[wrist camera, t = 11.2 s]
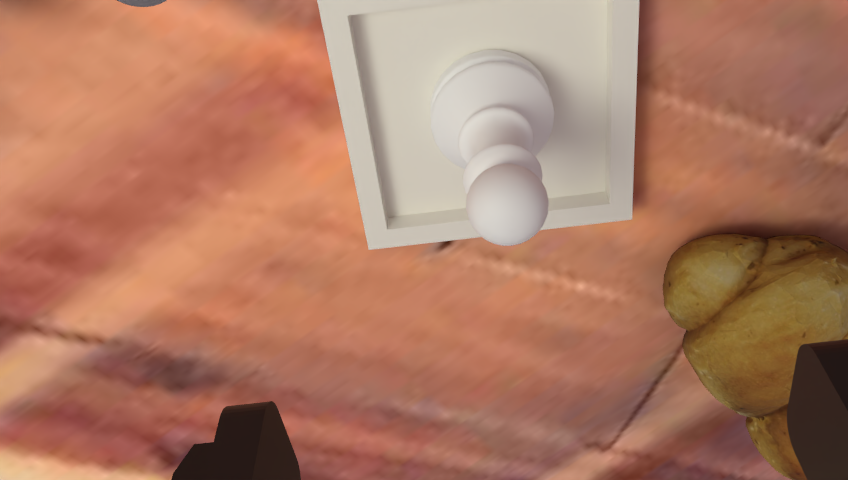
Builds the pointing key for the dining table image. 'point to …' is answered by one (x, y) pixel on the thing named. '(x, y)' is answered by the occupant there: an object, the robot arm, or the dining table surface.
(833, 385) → the robot arm
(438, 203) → the square tray
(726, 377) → the bread roll
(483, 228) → the chess pawn
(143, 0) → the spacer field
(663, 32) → the dining table surface
